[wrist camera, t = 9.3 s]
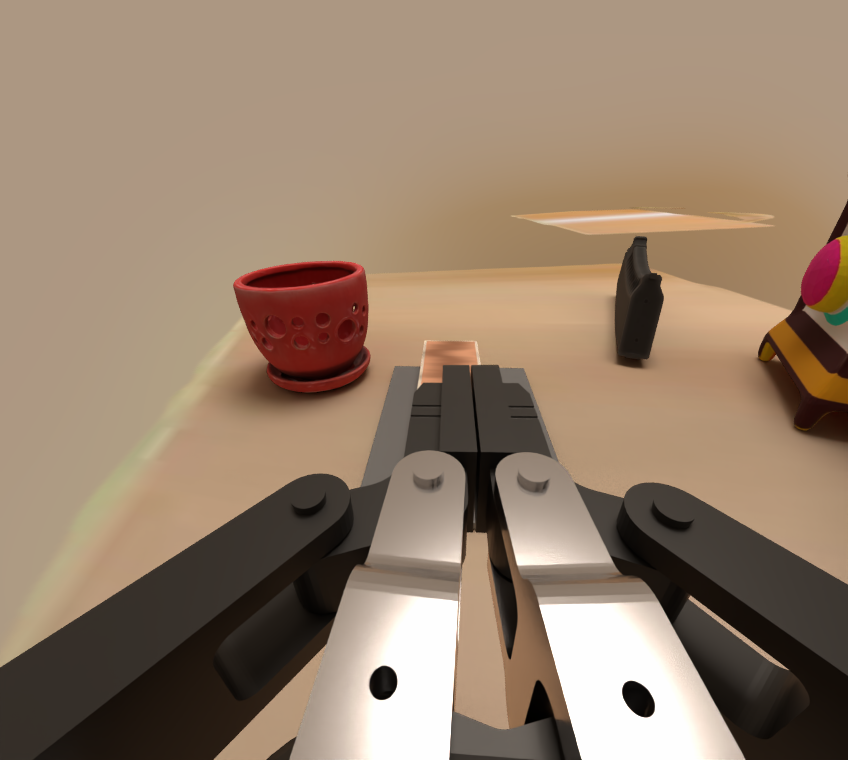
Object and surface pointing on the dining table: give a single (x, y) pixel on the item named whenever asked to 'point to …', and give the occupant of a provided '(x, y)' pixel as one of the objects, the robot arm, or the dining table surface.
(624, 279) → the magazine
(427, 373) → the slab
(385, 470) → the mat
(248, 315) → the plant pot
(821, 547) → the dining table surface
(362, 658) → the robot arm
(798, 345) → the decorative lantern
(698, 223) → the dining table surface
